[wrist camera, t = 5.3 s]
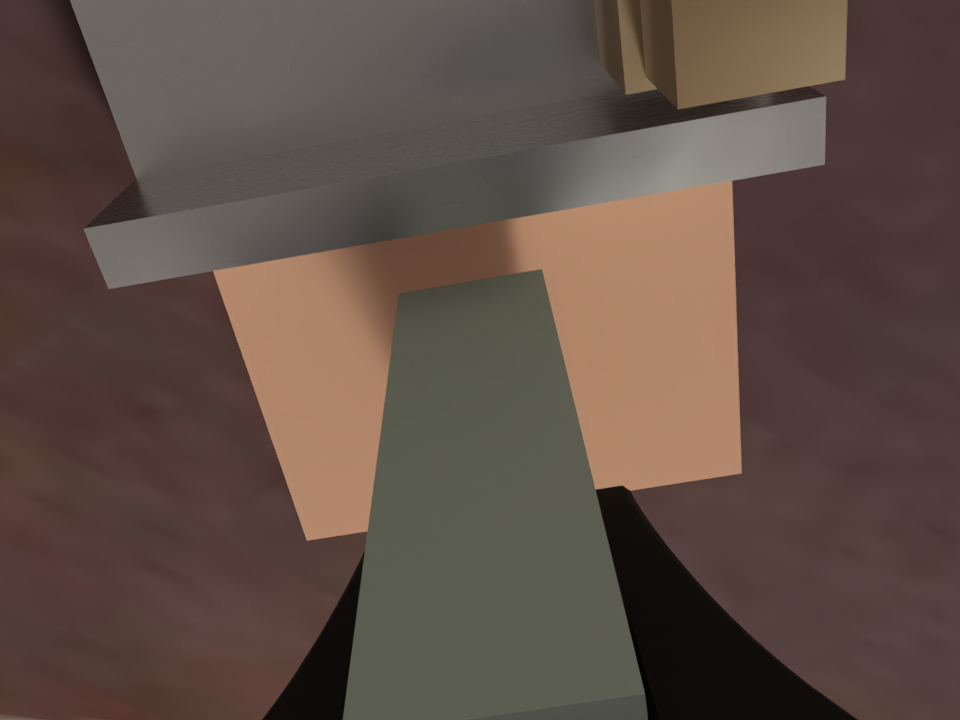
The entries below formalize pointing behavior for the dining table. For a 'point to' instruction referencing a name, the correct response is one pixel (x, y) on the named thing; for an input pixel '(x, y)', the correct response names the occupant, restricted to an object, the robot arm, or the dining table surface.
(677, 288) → the mat
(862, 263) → the dining table surface
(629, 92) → the offcut stack
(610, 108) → the rack
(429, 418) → the sage green tall pillar
